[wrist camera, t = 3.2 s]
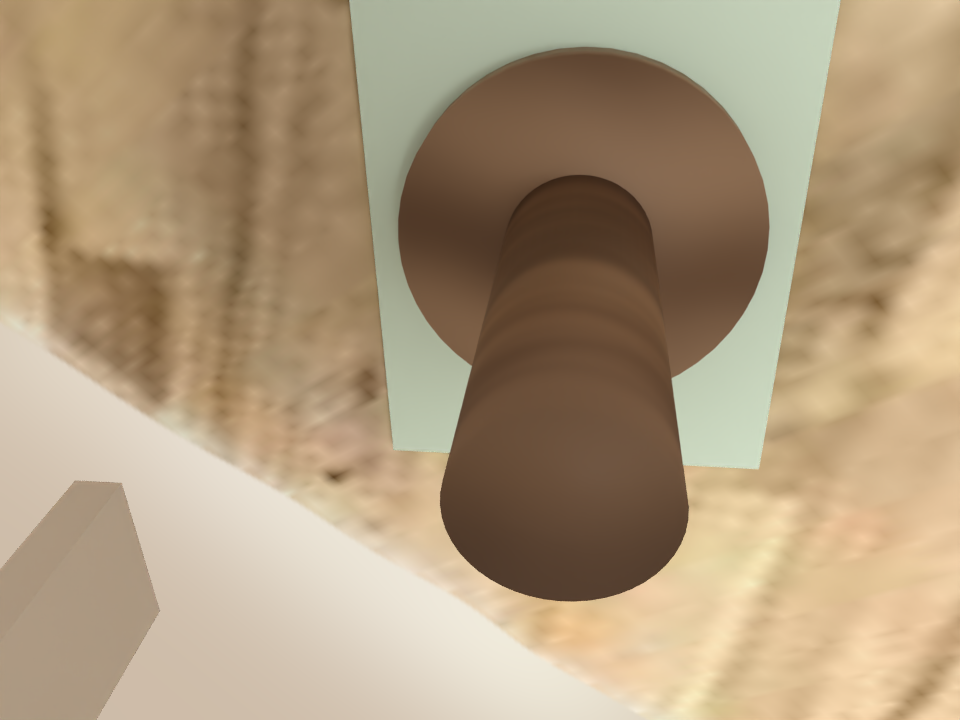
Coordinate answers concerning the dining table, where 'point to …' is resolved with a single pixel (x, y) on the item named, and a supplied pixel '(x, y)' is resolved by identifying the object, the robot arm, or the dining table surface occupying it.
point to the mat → (628, 27)
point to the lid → (578, 305)
